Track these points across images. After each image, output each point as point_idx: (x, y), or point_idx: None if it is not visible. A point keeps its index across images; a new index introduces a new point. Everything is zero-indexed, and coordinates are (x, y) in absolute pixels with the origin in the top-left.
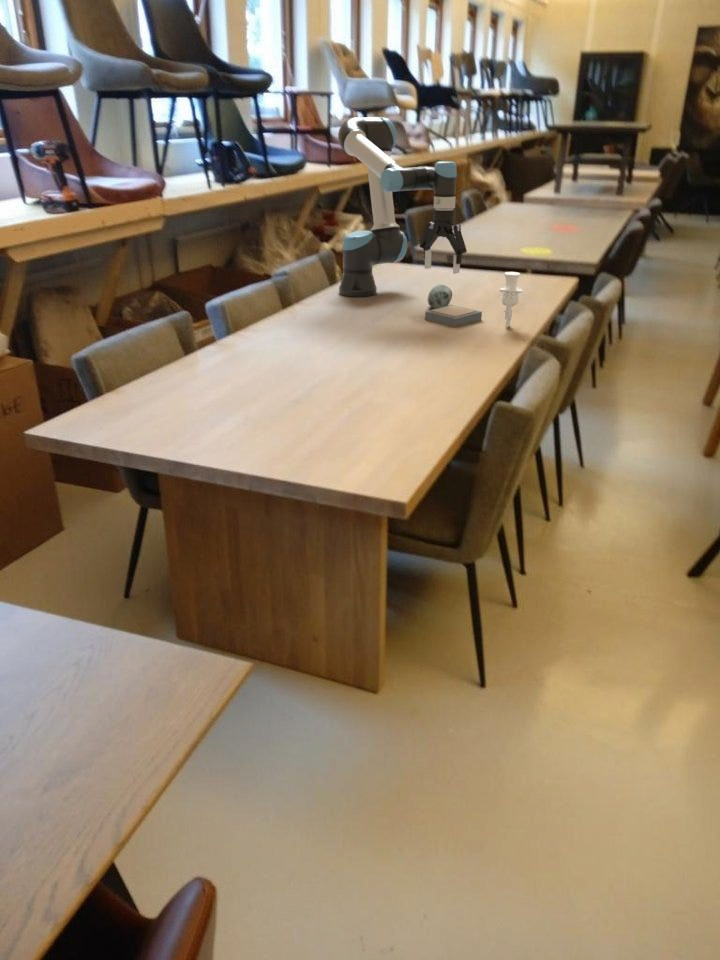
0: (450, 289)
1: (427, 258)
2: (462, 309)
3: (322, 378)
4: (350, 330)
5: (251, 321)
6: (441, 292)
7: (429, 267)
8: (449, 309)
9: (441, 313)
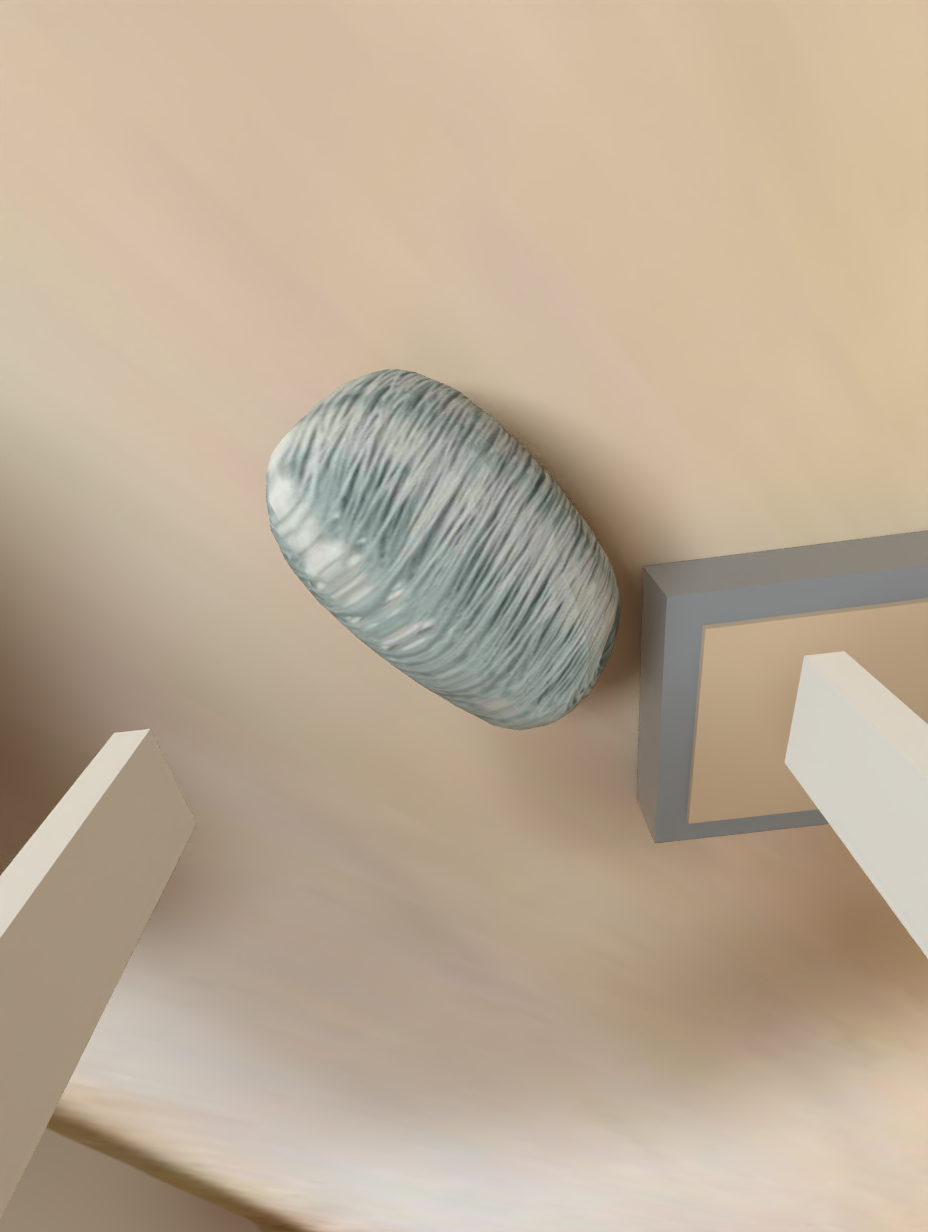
0: (531, 500)
1: (97, 980)
2: (864, 650)
3: (833, 1220)
4: (528, 1069)
5: (198, 1193)
6: (588, 689)
7: (160, 770)
8: (775, 723)
9: (782, 809)
